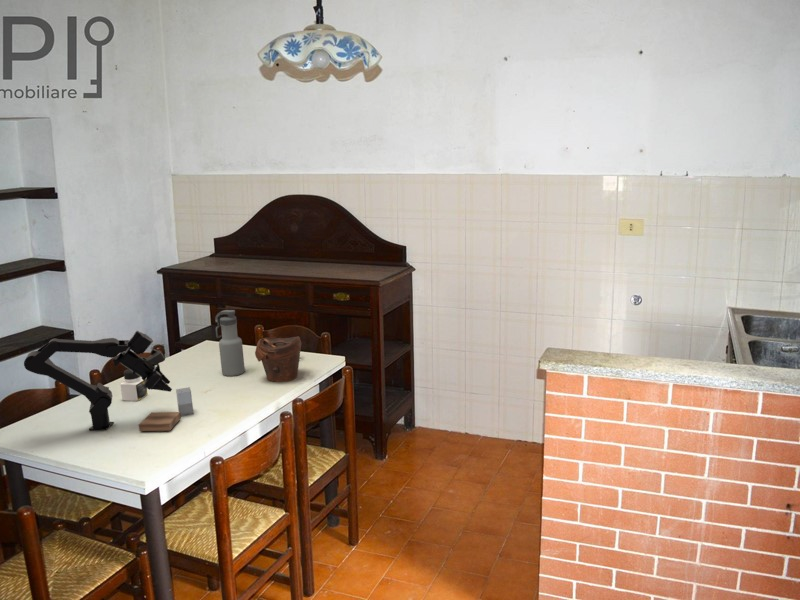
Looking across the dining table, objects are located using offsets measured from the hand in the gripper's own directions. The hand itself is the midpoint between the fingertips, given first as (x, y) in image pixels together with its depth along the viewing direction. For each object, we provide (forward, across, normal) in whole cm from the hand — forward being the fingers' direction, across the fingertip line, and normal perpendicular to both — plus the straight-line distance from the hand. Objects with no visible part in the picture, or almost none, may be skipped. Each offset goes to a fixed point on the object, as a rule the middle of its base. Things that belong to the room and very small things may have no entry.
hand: (170, 386), depth 263 cm
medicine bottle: (-1, +27, +17) cm, 32 cm away
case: (+41, +23, -24) cm, 52 cm away
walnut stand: (+4, -9, +12) cm, 15 cm away
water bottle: (+28, +39, -12) cm, 49 cm away
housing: (+11, 0, +5) cm, 12 cm away
